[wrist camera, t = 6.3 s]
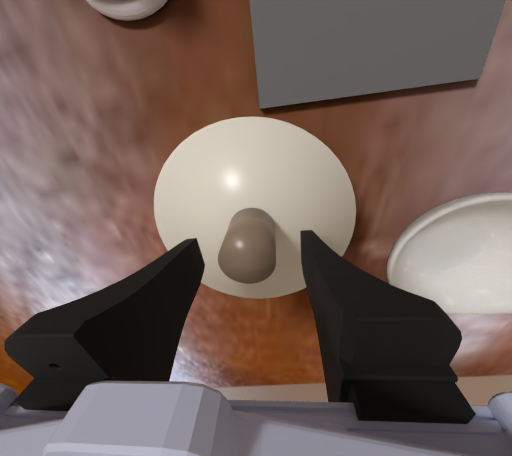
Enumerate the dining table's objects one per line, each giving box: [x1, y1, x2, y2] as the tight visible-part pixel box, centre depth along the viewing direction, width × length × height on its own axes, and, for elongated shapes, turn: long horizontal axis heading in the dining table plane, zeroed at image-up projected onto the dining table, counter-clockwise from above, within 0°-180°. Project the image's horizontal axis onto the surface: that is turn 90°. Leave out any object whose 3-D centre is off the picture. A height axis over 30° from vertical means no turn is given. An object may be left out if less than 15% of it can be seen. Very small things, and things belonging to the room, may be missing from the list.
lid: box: [154, 117, 356, 298], centre depth 12 cm, size 13×13×4 cm
